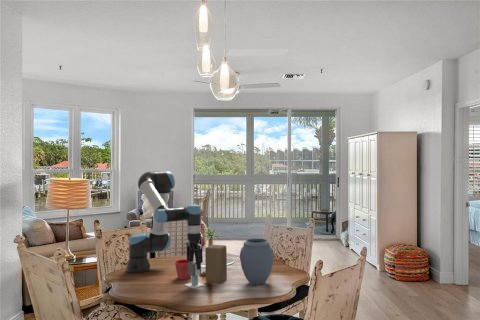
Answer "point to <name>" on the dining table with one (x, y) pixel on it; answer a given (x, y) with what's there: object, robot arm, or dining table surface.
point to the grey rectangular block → (192, 268)
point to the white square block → (194, 283)
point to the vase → (256, 260)
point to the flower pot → (182, 269)
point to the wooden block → (216, 263)
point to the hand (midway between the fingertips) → (194, 274)
